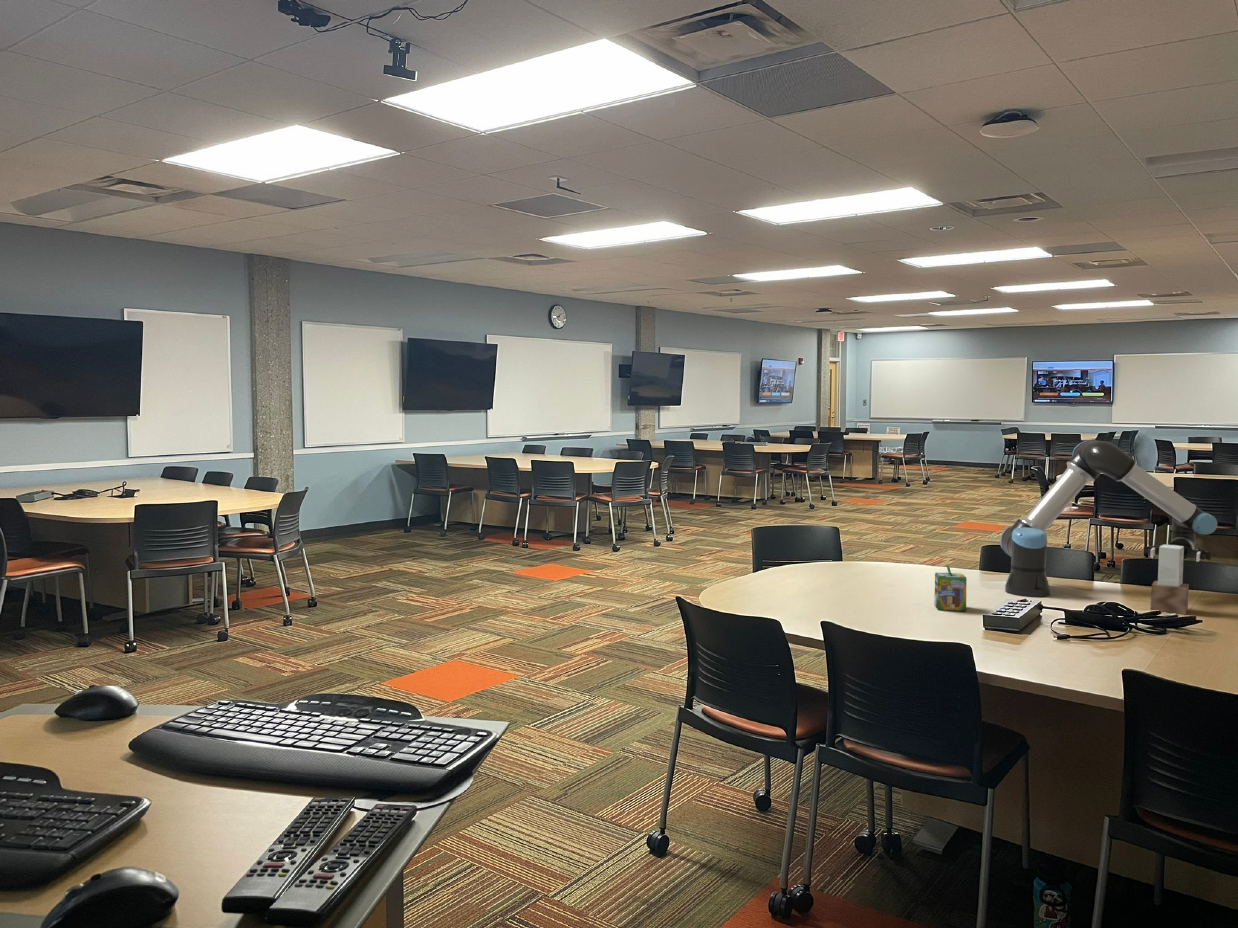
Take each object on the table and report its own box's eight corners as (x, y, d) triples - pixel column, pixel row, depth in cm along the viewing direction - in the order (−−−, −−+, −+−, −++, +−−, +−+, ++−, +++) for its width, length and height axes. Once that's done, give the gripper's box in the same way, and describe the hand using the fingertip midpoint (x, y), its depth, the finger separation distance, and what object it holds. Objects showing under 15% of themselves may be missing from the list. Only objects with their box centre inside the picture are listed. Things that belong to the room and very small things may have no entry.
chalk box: (966, 612, 301) (967, 567, 301) (937, 610, 303) (938, 566, 302) (961, 606, 311) (963, 563, 310) (933, 604, 312) (934, 562, 311)
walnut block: (1150, 611, 306) (1151, 584, 305) (1153, 606, 314) (1154, 580, 313) (1185, 615, 300) (1186, 588, 300) (1187, 610, 308) (1188, 584, 308)
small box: (1161, 581, 312) (1162, 544, 311) (1182, 583, 308) (1184, 545, 307) (1157, 584, 306) (1158, 546, 305) (1179, 587, 301) (1180, 548, 301)
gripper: (1221, 562, 322) (1217, 570, 305) (1140, 555, 337) (1132, 562, 320) (1222, 541, 322) (1218, 548, 305) (1141, 535, 336) (1133, 541, 319)
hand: (1174, 555), depth 312 cm, fingers open, 13 cm apart
